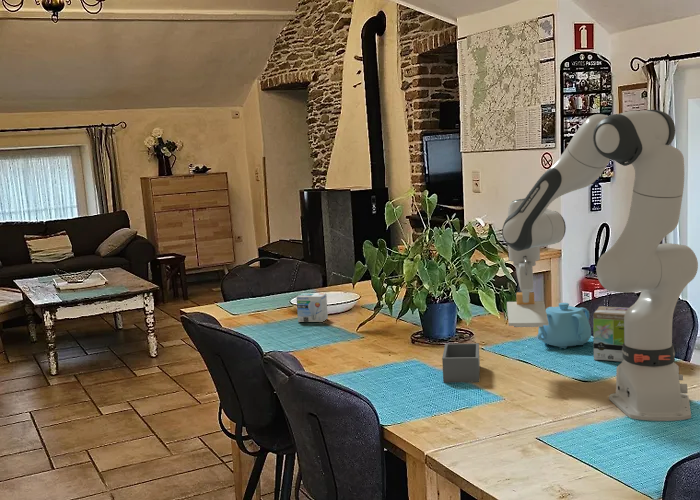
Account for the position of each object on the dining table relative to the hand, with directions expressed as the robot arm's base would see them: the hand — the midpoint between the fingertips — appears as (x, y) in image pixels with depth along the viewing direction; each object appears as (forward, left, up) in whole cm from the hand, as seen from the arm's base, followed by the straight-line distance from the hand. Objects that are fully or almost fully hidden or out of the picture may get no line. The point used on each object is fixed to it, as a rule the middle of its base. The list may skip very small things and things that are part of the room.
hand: (525, 300), depth 224 cm
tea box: (+8, -28, -20) cm, 35 cm away
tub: (-7, +19, -20) cm, 28 cm away
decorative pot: (+25, -13, -20) cm, 35 cm away
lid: (-6, 0, -4) cm, 7 cm away
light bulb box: (+66, +80, -20) cm, 106 cm away
